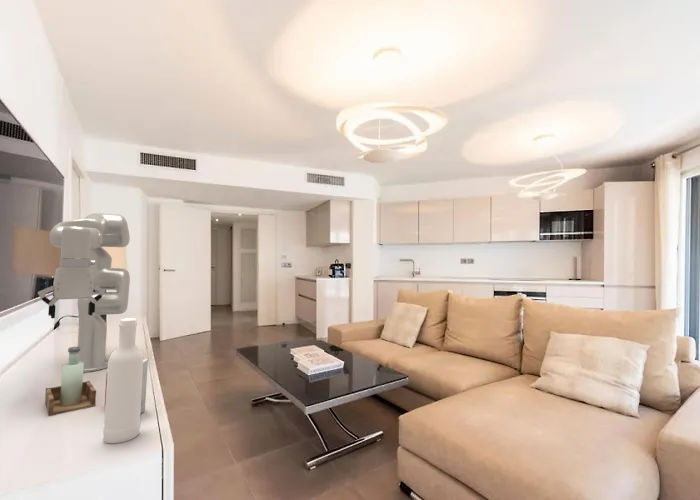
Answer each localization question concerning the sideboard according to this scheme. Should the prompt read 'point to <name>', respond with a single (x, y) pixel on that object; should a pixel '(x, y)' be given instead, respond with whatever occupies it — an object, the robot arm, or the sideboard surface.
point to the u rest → (86, 401)
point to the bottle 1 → (72, 379)
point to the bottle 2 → (124, 387)
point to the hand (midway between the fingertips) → (72, 316)
